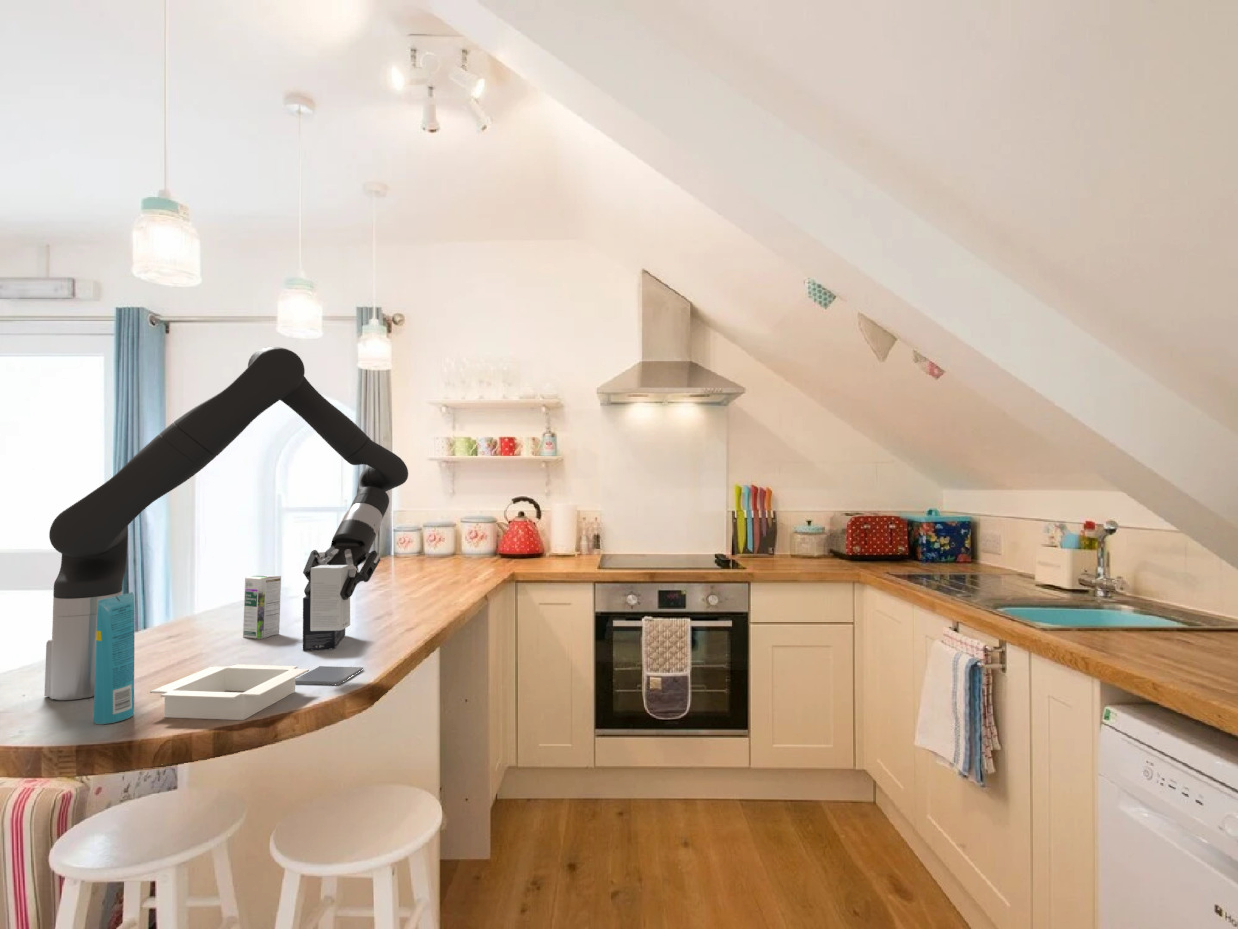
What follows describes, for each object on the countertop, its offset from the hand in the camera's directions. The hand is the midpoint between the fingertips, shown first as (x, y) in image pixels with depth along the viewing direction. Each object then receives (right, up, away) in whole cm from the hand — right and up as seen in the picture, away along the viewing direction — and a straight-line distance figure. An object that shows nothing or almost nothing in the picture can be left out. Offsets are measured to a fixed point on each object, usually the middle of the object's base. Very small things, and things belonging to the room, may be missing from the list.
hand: (326, 597), depth 115 cm
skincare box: (0, -7, +1) cm, 7 cm away
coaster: (0, -16, +1) cm, 16 cm away
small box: (-13, -17, +26) cm, 34 cm away
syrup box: (-32, -17, +33) cm, 48 cm away
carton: (-9, -15, -13) cm, 22 cm away
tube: (-24, -15, -20) cm, 35 cm away
